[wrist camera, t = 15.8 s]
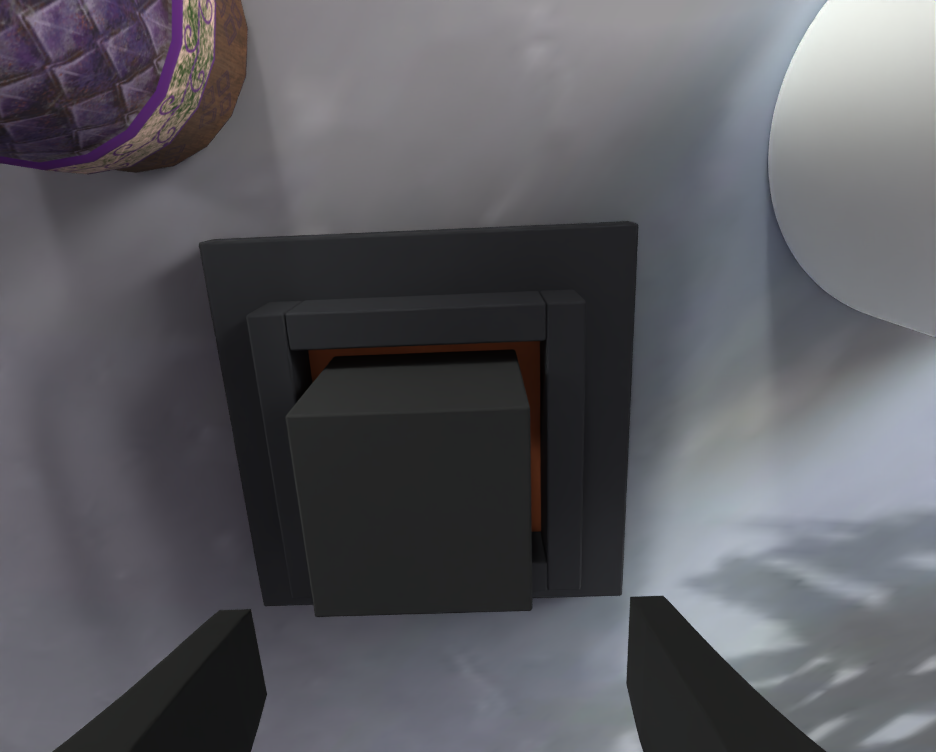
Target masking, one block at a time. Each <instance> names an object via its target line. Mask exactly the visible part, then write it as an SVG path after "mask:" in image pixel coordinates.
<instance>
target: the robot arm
mask: <svg viewBox="0 0 936 752" xmlns="http://www.w3.org/2000/svg"><path fill="white" fill-rule="evenodd" d="M627 688H628V693H629V697H630V701H631V706H632V710H633V715H634V719H635V723H636V727H637V731H638V735H639V739H640V743H641V746H642V749H643V752H826V751H825V750H824V749H822V748H821V747H820V746H818V745H817V744H816V743H815V742H814V741H812V740H811V739H810V738H809V737H808V736H806V735H805V734H804V733H803V732H802V731H800V730H799V729H798V728H797V727H796V726H795V725H793V724H792V723H791V722H790V721H789V720H788V719H787V718H786V717H784V716H783V715H782V714H781V713H780V712H779V711H778V710H777V709H775V708H774V707H773V706H772V705H771V704H770V703H769V702H768V701H767V700H766V699H765V698H763V697H762V696H761V695H760V694H759V693H758V692H757V691H756V690H755V689H754V688H753V687H752V686H751V685H750V684H749V683H748V682H747V681H746V680H745V679H744V678H743V677H742V676H740V675H739V674H738V673H737V672H736V671H735V670H734V669H733V668H732V667H731V666H730V665H729V664H728V663H727V662H726V661H725V660H724V659H723V658H722V657H721V656H720V655H719V654H718V653H717V652H716V651H715V650H714V649H713V648H712V647H711V646H710V644H709V643H708V642H707V641H706V640H705V639H704V638H703V637H702V636H701V635H700V634H699V633H698V632H697V631H696V630H695V629H694V628H693V627H692V626H691V625H690V623H689V622H688V621H687V620H686V619H685V618H684V617H683V616H682V615H681V614H680V613H679V612H678V611H677V609H676V608H675V607H674V606H673V605H672V604H671V603H670V602H669V601H668V600H667V599H666V598H665V597H664V596H642V597H630V617H629V639H628V661H627ZM266 696H267V691H266V686H265V681H264V676H263V670H262V665H261V660H260V655H259V649H258V644H257V639H256V634H255V628H254V623H253V618H252V613H251V609H244V610H219V611H218V612H217V613H216V614H214V615H213V616H212V617H211V618H210V619H208V620H207V621H206V622H205V623H204V624H203V625H202V626H200V627H199V628H198V629H197V630H196V631H195V632H194V633H192V634H191V635H190V636H189V637H188V638H187V639H186V640H185V641H184V642H182V643H181V644H180V645H179V646H178V647H177V648H176V649H175V650H173V651H172V652H171V653H170V654H169V655H168V656H167V657H166V658H165V659H163V660H162V661H161V662H160V663H159V664H158V665H157V666H155V667H154V668H153V669H152V670H151V671H150V672H149V673H147V674H146V675H145V676H144V677H143V678H142V679H141V680H139V681H138V682H137V683H136V684H135V685H134V686H133V687H131V688H130V689H129V690H128V691H127V692H126V693H124V694H123V695H122V696H121V697H120V698H118V699H117V700H116V701H115V702H114V703H112V704H111V705H110V706H109V707H107V708H106V709H105V710H104V711H102V712H101V713H100V714H99V715H98V716H96V717H95V718H94V719H93V720H91V721H90V722H89V723H88V724H87V725H85V726H84V727H83V728H82V729H80V730H79V731H78V732H77V733H75V734H74V735H73V736H72V737H71V738H69V739H68V740H67V741H66V742H64V743H63V744H62V745H60V746H59V747H58V748H56V749H55V750H54V751H53V752H251V749H252V746H253V742H254V739H255V736H256V732H257V729H258V726H259V722H260V718H261V715H262V711H263V707H264V704H265V700H266Z"/></svg>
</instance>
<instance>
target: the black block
mask: <svg viewBox="0 0 936 752" xmlns="http://www.w3.org/2000/svg"><path fill="white" fill-rule="evenodd" d="M286 424H287V430H288V437H289V444H290V450H291V457H292V464H293V471H294V477H295V484H296V491H297V497H298V504H299V511H300V518H301V524H302V531H303V538H304V545H305V551H306V558H307V565H308V571H309V578H310V585H311V592H312V598H313V605H314V612H315V616H316V617H333V616H367V615H401V614H435V613H469V612H504V611H530V610H532V528H531V440H530V406H529V402H528V398H527V394H526V390H525V386H524V382H523V378H522V374H521V370H520V366H519V362H518V359H517V355H516V351H515V350H514V349H510V350H484V351H458V352H433V353H407V354H381V355H356V356H335V357H333V358H332V360H331V361H330V362H329V363H328V365H327V366H326V367H325V368H324V370H323V371H322V372H321V373H320V374H319V376H318V377H317V378H316V379H315V381H314V382H313V383H312V384H311V386H310V387H309V388H308V389H307V390H306V392H305V393H304V394H303V395H302V397H301V398H300V399H299V400H298V402H297V403H296V404H295V405H294V406H293V408H292V409H291V410H290V411H289V413H288V414H287V415H286Z"/></svg>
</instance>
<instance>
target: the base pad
mask: <svg viewBox="0 0 936 752" xmlns="http://www.w3.org/2000/svg"><path fill="white" fill-rule="evenodd" d="M637 246H638V224H636V223H633V222H629V221H622V222H600V223H577V224H554V225H531V226H508V227H485V228H462V229H440V230H417V231H394V232H371V233H348V234H325V235H302V236H280V237H257V238H234V239H214V240H209V241H204V242H201V243H199V248H200V254H201V259H202V265H203V270H204V276H205V281H206V287H207V292H208V298H209V304H210V309H211V315H212V320H213V326H214V331H215V337H216V342H217V348H218V353H219V359H220V365H221V370H222V376H223V381H224V387H225V392H226V398H227V403H228V409H229V415H230V420H231V426H232V431H233V437H234V442H235V448H236V453H237V459H238V464H239V470H240V476H241V481H242V487H243V492H244V498H245V503H246V509H247V514H248V520H249V525H250V531H251V537H252V542H253V548H254V553H255V559H256V564H257V570H258V575H259V581H260V586H261V592H262V598H263V603H264V606H287V605H313V598H312V592H311V585H310V578H309V571H308V565H307V558H306V551H305V545H304V538H303V531H302V524H301V518H300V511H299V504H298V497H297V491H296V484H295V477H294V471H293V464H292V457H291V450H290V444H289V437H288V430H287V424H286V415H287V414H288V413H289V411H290V410H291V409H292V408H293V406H294V405H295V404H296V403H297V402H298V400H299V399H300V398H301V397H302V395H303V394H304V393H305V392H306V390H307V389H308V388H309V387H310V386H311V384H312V383H313V382H314V381H315V379H316V378H317V377H318V376H319V374H320V373H321V372H322V371H323V370H324V368H325V367H326V366H327V365H328V363H329V362H330V361H331V360H332V358H333V357H335V356H356V355H381V354H407V353H433V352H458V351H484V350H510V349H514V350H515V351H516V355H517V359H518V362H519V366H520V370H521V374H522V378H523V382H524V386H525V390H526V394H527V398H528V402H529V406H530V440H531V528H532V598H554V597H588V596H620V595H621V594H622V582H623V560H624V538H625V515H626V493H627V470H628V448H629V426H630V403H631V381H632V358H633V336H634V314H635V291H636V269H637Z"/></svg>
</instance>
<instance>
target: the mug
mask: <svg viewBox="0 0 936 752" xmlns="http://www.w3.org/2000/svg"><path fill="white" fill-rule="evenodd" d="M247 30H248V29H247V24H246V20H245V16H244V12H243V8H242V4H241V0H0V163H2V164H9V165H15V166H21V167H27V168H33V169H40V170H47V171H58V172H68V173H79V174H93V173H98V172H104V171H110V170H119V171H127V172H142V171H148V170H153V169H159V168H165V167H171V166H175V165H176V164H178V163H180V162H181V161H183V160H185V159H187V158H188V157H190V156H192V155H193V154H195V153H197V152H198V151H200V150H202V149H203V148H205V147H207V146H208V144H209V143H210V142H211V141H212V139H213V138H214V137H215V136H216V134H217V133H218V132H219V131H220V129H221V128H222V127H223V126H224V124H225V123H226V122H227V121H228V119H229V118H230V117H231V116H232V113H233V110H234V107H235V105H236V102H237V99H238V96H239V93H240V90H241V88H242V85H243V82H244V79H245V76H246V57H247Z"/></svg>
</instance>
